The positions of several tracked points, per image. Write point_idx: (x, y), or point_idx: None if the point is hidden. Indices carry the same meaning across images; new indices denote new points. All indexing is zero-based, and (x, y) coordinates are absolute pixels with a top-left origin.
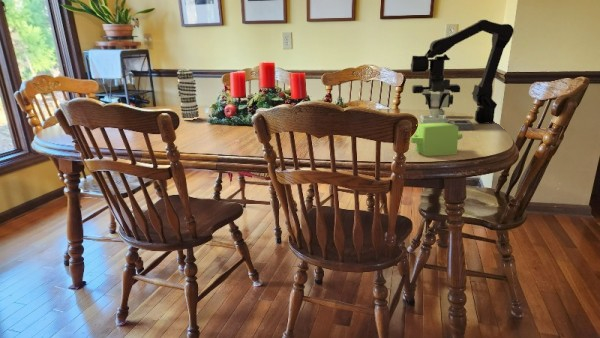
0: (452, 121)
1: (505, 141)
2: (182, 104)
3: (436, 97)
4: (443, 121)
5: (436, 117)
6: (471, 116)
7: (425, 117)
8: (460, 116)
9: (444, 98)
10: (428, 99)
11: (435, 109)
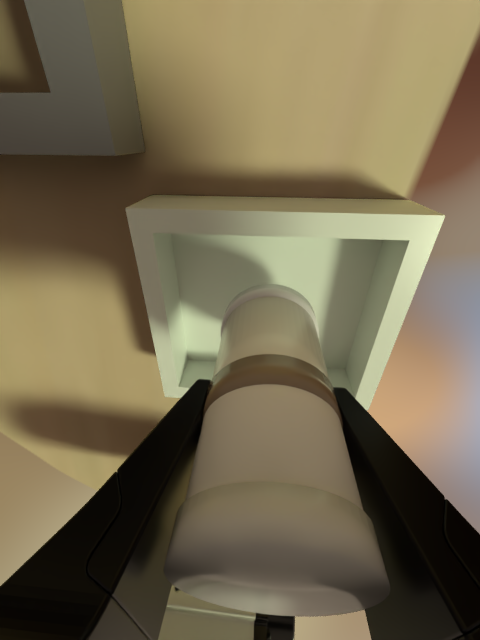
0: (52, 21)
1: None
2: None
3: (200, 622)
4: (186, 202)
5: (252, 289)
6: (28, 438)
7: None
8: (85, 445)
9: (36, 553)
10: (476, 575)
11: (269, 347)
